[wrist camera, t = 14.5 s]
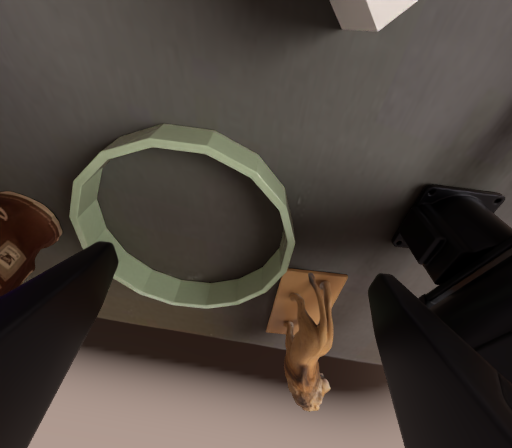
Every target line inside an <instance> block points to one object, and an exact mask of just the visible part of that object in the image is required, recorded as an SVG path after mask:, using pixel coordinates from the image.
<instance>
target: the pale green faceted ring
mask: <svg viewBox="0 0 512 448" xmlns="http://www.w3.org/2000/svg"><path fill="white" fill-rule="evenodd" d="M151 147H156V148H163V149H171V150H178V151H186V152H193V153H201V154H206V155H208V156H210V157H212V158H214V159H216V160H217V161H219V162H221V163H223V164H225V165H227V166H229V167H231V168H233V169H235V170H237V171H238V172H240V173H242V174H244V175H246V176H248V177H250V178H251V179H252V180H253V181H254V182H255V183H256V184H257V186H258V187H259V188H260V189H261V190H262V191H263V193H264V194H265V195H266V196H267V197H268V198H269V199H270V201H271V202H272V203H273V204H274V205H275V206H276V208H277V209H278V210H279V211H280V215H281V219H282V223H283V226H284V231H283V235H282V239H281V243H280V247H279V249H278V250H277V251H276V252H275V254H274V255H273V256H272V257H271V258H270V259H269V260H268V261H267V263H266V264H265V265H264V266H263V267H262V268H260V269H258V270H256V271H254V272H252V273H250V274H248V275H246V276H244V277H242V278H240V279H235V280H229V281H222V282H215V283H204V282H195V281H186V280H180V279H177V278H174V277H172V276H169V275H166V274H163V273H161V272H158V271H155V270H152V269H151V268H149V267H148V266H146V265H145V264H143V263H142V262H140V261H139V260H138V259H136V258H135V257H133V256H132V255H130V254H129V253H127V252H126V251H125V250H124V249H123V247H122V246H121V245H120V244H119V243H118V241H117V240H116V239H115V238H114V236H113V235H112V234H111V233H110V232H109V230H108V229H107V228H106V225H105V222H104V219H103V216H102V213H101V210H100V206H99V203H98V200H97V195H98V189H99V184H100V179H101V174H102V169H103V167H104V166H105V165H106V164H107V163H108V162H109V161H110V160H111V159H112V158H115V157H119V156H122V155H126V154H130V153H133V152H137V151H140V150H144V149H148V148H151ZM69 218H70V220H71V222H72V225H73V227H74V229H75V232H76V234H77V236H78V239H79V241H80V243H81V246H82V248H83V249H85V248H87V247H89V246H91V245H92V244H94V243H96V242H98V241H105V242H111V243H113V244H114V247H115V250H116V253H117V256H118V261H119V262H118V267H117V269H116V272H115V274H114V277H113V278H114V279H115V280H117V281H119V282H120V283H122V284H124V285H125V286H127V287H128V288H130V289H132V290H133V291H135V292H137V293H138V294H141V295H144V296H147V297H150V298H153V299H156V300H159V301H162V302H165V303H168V304H171V305H176V306H186V307H196V308H205V309H208V308H216V307H223V306H231V305H238V304H241V303H243V302H245V301H248V300H250V299H252V298H254V297H257V296H259V295H261V294H264V293H266V292H267V291H268V290H269V289H270V288H271V287H272V286H273V285H274V284H275V283H276V282H277V281H278V280H279V279H280V278H281V277H282V276H283V275H284V274H285V273H286V272H287V269H288V266H289V262H290V259H291V256H292V252H293V249H294V246H295V236H294V228H293V221H292V216H291V212H290V208H289V204H288V199H287V195H286V191H285V187H284V186H283V185H282V184H281V182H280V181H279V180H278V179H277V177H276V176H275V175H274V174H273V172H272V171H271V170H270V169H269V167H268V166H267V165H266V164H265V162H264V161H263V160H262V159H261V157H260V156H259V155H258V154H256V153H254V152H252V151H251V150H249V149H247V148H245V147H243V146H242V145H240V144H238V143H236V142H234V141H233V140H231V139H229V138H227V137H225V136H224V135H222V134H220V133H218V132H217V131H214V130H207V129H200V128H193V127H186V126H178V125H171V124H161V125H157V126H154V127H151V128H147V129H144V130H140V131H137V132H134V133H130V134H127V135H124V136H121V137H119V138H118V139H117V140H115V141H114V142H113V143H111V144H110V145H109V146H107V147H106V148H105V149H103V150H102V151H101V152H100V153H99V154H98V155H97V156H96V157H95V158H94V159H93V160H92V161H91V162H90V163H89V165H88V166H87V167H86V168H85V169H84V170H83V171H82V172H81V173H80V174H79V175H78V176H77V178H76V179H75V180H74V181H73V187H72V196H71V205H70V214H69Z"/></svg>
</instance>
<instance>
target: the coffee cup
mask: <svg viewBox="0 0 512 448" xmlns="http://www.w3.org/2000/svg"><path fill="white" fill-rule="evenodd" d="M61 235H62V229H61V227H60V224H59V221H58V220H57V219H56V218H55V215H54V214H53V213H52V212H51V211H50V210H49V209H48V208H47V207H46V206H44V205H43V204H41V203H39V202H37V201H35V200H33V199H31V198H29V197H26V196H24V195H21V194H18V193H14V192H10V191H5V192H0V297H1V296H3V295H4V294H6V293H8V292H10V291H11V290H13V289H15V288H17V287H19V286H20V285H21V284H22V283H23V281H24V280H25V279H26V278H27V277H28V276H29V274H30V273H32V272H33V271H34V270H35V257H36V256H37V254H38V253H39V251H40V250H41V249H42V248H47V247H49V246H51V245H53V244H54V243H55V242H57V241H58V240H59V237H60V236H61Z"/></svg>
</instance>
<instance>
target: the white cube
mask: <svg viewBox="0 0 512 448" xmlns="http://www.w3.org/2000/svg"><path fill="white" fill-rule="evenodd" d="M329 1H330V3H331V5H332V8H333V10H334V12H335V14H336V17H337V19H338V21H339V24H340V26H341V28H342V30H359V31H376V32H378V31H379V30H380V29H382V28H383V27H384V26H386V25H387V24H388V23H390V22H391V21H392V20H393V19H395V18H396V17H397V16H399V15H400V14H401V13H403V12H404V11H405V10H406V9H408V8H409V7H410V6H412V5H413V4H414V3H416V2H417V1H418V0H329Z"/></svg>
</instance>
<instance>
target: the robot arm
mask: <svg viewBox="0 0 512 448" xmlns="http://www.w3.org/2000/svg"><path fill="white" fill-rule="evenodd" d="M431 190H432V191H431ZM430 191H431V192H430ZM504 200H505V197H504V196H503V195H502V194H500V193H494V192H487V191H479V190H472V189H464V188H456V187H449V186H441V185H434V184H431V185H428V186H426V187H425V188H424V189H423V191H422V193H421V194H420V196H419V197H418V199H417V201H416V202H415V204H414V205H413V207H412V209H411V210H410V212H409V213H408V215H407V216H406V218H405V220H404V221H403V223H402V224H401V226H400V228H399V229H398V231H397V233H396V234H395V236H394V237H393V239H392V243H393V245H394V246H396V247H404V248H409V249H410V250H411V252H412V254H413V255H414V257H415V258H416V260H417V262H418V263H419V264H421V265H423V266H424V268H425V269H426V271H427V272H428V274H429V275H430V277H431V279H432V280H433V282H434V283H435V284H436V285H439V286H437V287H436V288H435V289H433V290H432V291H430V292H429V293H427V294H424V295H422V296H421V297H419V299H418V298H417V297H416V296H415V295H414V294H412V293H411V292H410V291H409V290H408V289H407V288H406V287H405V286H404V285H403V284H402V283H400V282H399V281H398V280H397V279H396V278H395V277H394V276H392V275H390V274H383V273H380V274H378V275H377V276H376V278H375V279H374V281H373V282H372V284H371V285H370V287H369V290H368V296H369V302H370V309H371V315H372V321H373V328H374V333H375V338H376V342H377V346H378V350H379V353H380V357H381V361H382V364H383V368H384V371H385V375H386V379H387V383H388V387H389V390H390V394H391V398H392V401H393V405H394V409H395V413H396V416H397V420H398V424H399V427H400V431H401V435H402V438H403V442H404V446H405V448H512V228H510V227H509V226H508V225H507V224H506V223H504V222H503V221H502V220H501V219H500V218H498V217H497V216H496V215H495V214H494V212H495V211H496V210H497V209H498V207H499V206H500V205H501V204H502V203H503V202H504ZM118 262H119V261H118V256H117V253H116V250H115V247H114V244H113V243H111V242H105V241H98V242H96V243H94V244H92V245H91V246H89V247H87V248H85V249H84V250H82V251H80V252H78V253H77V254H75V255H73V256H71V257H69V258H68V259H66V260H64V261H62V262H61V263H59V264H57V265H55V266H54V267H52V268H50V269H48V270H47V271H45V272H43V273H41V274H40V275H38V276H36V277H34V278H33V279H31V280H29V281H27V282H26V283H24V284H22V285H20V286H19V287H17V288H15V289H13V290H11V291H10V292H8V293H6V294H4V295H3V296H1V297H0V448H27V447H28V445H29V444H30V441H31V440H32V438H33V436H34V434H35V432H36V430H37V428H38V427H39V425H40V423H41V421H42V419H43V417H44V415H45V413H46V411H47V409H48V408H49V406H50V404H51V402H52V400H53V398H54V396H55V394H56V393H57V391H58V389H59V387H60V385H61V383H62V381H63V379H64V377H65V376H66V374H67V372H68V370H69V368H70V366H71V364H72V362H73V360H74V358H75V357H76V355H77V353H78V351H79V349H80V347H81V345H82V343H83V341H84V340H85V338H86V336H87V333H88V332H89V330H90V328H91V326H92V324H93V323H94V321H95V319H96V317H97V315H98V313H99V311H100V309H101V307H102V305H103V302H104V300H105V297H106V295H107V292H108V290H109V287H110V285H111V282H112V280H113V277H114V274H115V272H116V269H117V267H118Z"/></svg>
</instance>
